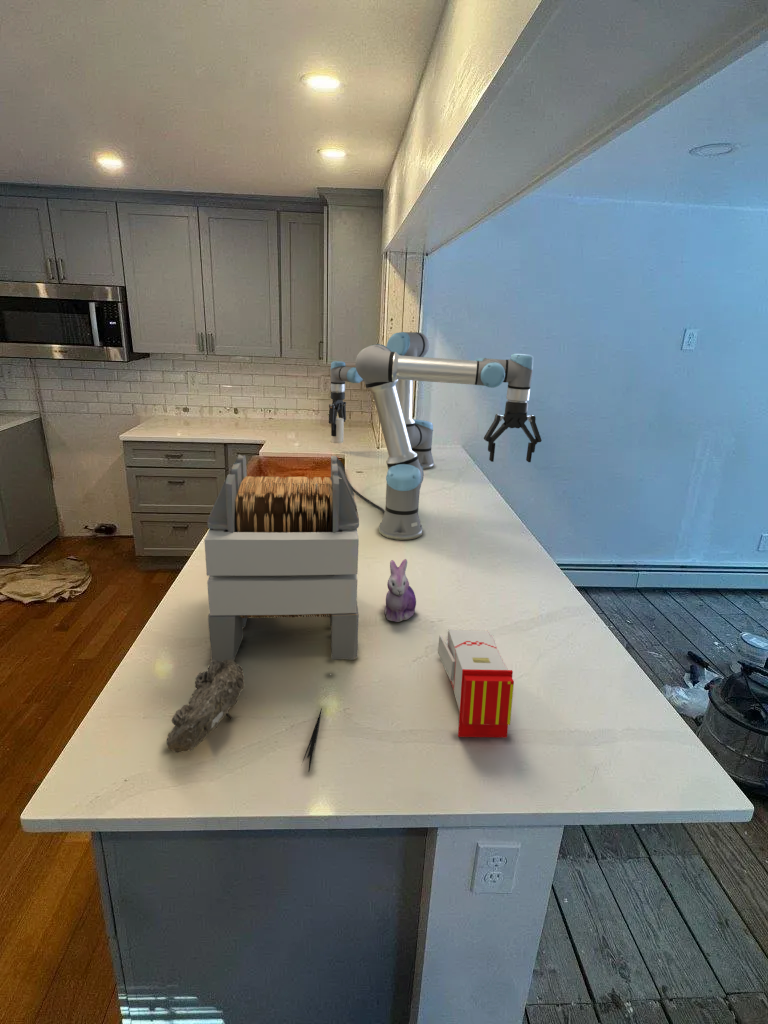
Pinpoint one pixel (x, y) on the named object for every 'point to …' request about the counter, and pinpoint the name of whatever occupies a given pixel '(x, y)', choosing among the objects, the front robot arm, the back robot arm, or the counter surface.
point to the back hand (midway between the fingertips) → (337, 434)
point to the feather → (313, 740)
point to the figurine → (399, 594)
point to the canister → (338, 431)
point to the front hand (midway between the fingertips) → (509, 461)
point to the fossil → (206, 705)
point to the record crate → (282, 556)
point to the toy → (478, 682)
